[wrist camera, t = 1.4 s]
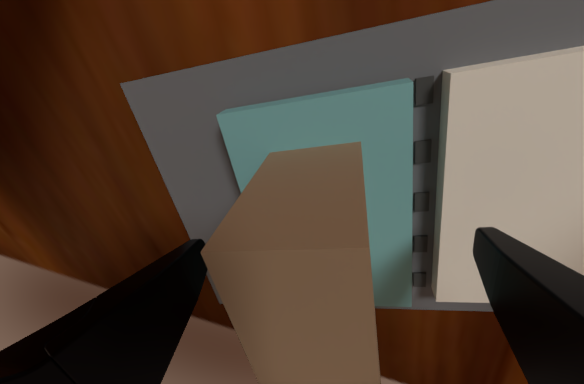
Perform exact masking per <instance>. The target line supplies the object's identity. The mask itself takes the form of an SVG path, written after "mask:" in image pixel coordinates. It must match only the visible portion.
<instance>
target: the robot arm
mask: <svg viewBox="0 0 584 384" xmlns="http://www.w3.org/2000/svg"><path fill="white" fill-rule="evenodd" d="M205 245H206V244H205V242H204V241H203V240H202V239H191V240H189V241H187V242H186V243H184V244H183V245H181V246H179V247H178V248H176V249H174V250H173V251H171V252H169V253H168V254H166V255H164V256H163V257H161V258H159V259H158V260H156V261H154V262H153V263H151V264H149V265H148V266H146V267H145V268H143V269H141V270H140V271H138V272H136V273H135V274H133V275H131V276H130V277H128V278H126V279H125V280H123V281H121V282H120V283H118V284H116V285H115V286H113V287H111V288H110V289H108V290H107V291H105V292H103V293H102V294H100V295H98V296H97V298H93V299H92V300H90V301H88V302H87V303H85V304H83V305H82V306H80V307H78V308H77V309H75V310H73V311H72V312H70V313H68V314H66V315H65V316H63V317H61V318H59V319H58V320H56V321H54V322H52V323H50V324H49V325H47V326H45V327H43V328H41V329H40V330H38V331H36V332H34V333H32V334H31V335H29V336H27V337H25V338H23V339H22V340H20V341H18V342H16V343H14V344H12V345H11V346H9V347H7V348H5V349H3V350H1V351H0V384H161V382H162V380H163V377H164V375H165V372H166V371H167V368H168V366H169V364H170V361H171V359H172V357H173V355H174V352H175V350H176V348H177V346H178V343H179V341H180V339H181V336H182V334H183V332H184V330H185V327H186V325H187V323H188V321H189V318H190V316H191V314H192V312H193V309H194V307H195V305H196V302H197V300H198V297H199V294H200V292H201V289H202V285H203V282H204V279H205V276H206V273H207V270H208V269H207V266H206V264H205V262H204V260H203V257H202V255H201V253H200V252H201V250H202V249H203V248H204V246H205ZM473 257H474V260H475V263H476V266H477V268H478V271H479V274H480V277H481V280H482V283H483V286H484V289H485V291H486V294H487V297H488V300H489V302H490V305H491V307H492V309H493V312H494V314H495V316H496V318H497V320H498V322H499V324H500V326H501V328H502V330H503V332H504V334H505V336H506V338H507V340H508V342H509V344H510V347H511V349H512V351H513V353H514V355H515V357H516V359H517V361H518V363H519V365H520V367H521V369H522V371H523V373H524V375H525V377H526V379H527V381H528V383H529V384H584V275H582V274H580V273H578V272H576V271H575V270H573V269H571V268H569V267H567V266H565V265H563V264H562V263H560V262H558V261H556V260H554V259H552V258H550V257H549V256H547V255H545V254H543V253H541V252H539V251H537V250H536V249H534V248H532V247H530V246H528V245H526V244H524V243H523V242H521V241H519V240H517V239H515V238H513V237H511V236H510V235H508V234H506V233H504V232H502V231H500V230H498V229H497V228H494V227H478V228H477V229H476V231H475V236H474V243H473Z"/></svg>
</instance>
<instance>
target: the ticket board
mask: <svg viewBox="0 0 584 384" xmlns="http://www.w3.org/2000/svg"><path fill="white" fill-rule="evenodd" d="M404 78H409V79H410V80H412V81H413V203H412V307H385V306H375V308H385V309H421V310H457V311H493V309H492V307H491V305H490V302H489V300H488V297H487V294H486V291H485V289H484V286H483V283H482V280H481V277H480V274H479V271H478V268H477V266H476V263H475V260H474V257H473V243H474V236H475V231H476V229H477V228H478V227H494V228H497V229H498V230H500V231H502V232H504V233H506V234H508V235H510V236H511V237H513V238H515V239H517V240H519V241H521V242H523V243H524V244H526V245H528V246H530V247H532V248H534V249H536V250H537V251H539V252H541V253H543V254H545V255H547V256H549V257H550V258H552V259H554V260H556V261H558V262H560V263H562V264H563V265H565V266H567V267H569V268H571V269H573V270H575V271H576V272H578V273H580V274H582V275H584V0H493V1H489V2H485V3H480V4H476V5H471V6H467V7H462V8H458V9H453V10H449V11H444V12H440V13H435V14H431V15H426V16H422V17H417V18H413V19H408V20H404V21H399V22H395V23H390V24H386V25H381V26H377V27H372V28H368V29H363V30H359V31H354V32H350V33H345V34H341V35H336V36H332V37H327V38H323V39H318V40H314V41H309V42H305V43H300V44H296V45H291V46H287V47H282V48H278V49H273V50H269V51H264V52H260V53H255V54H251V55H246V56H242V57H237V58H233V59H228V60H224V61H219V62H215V63H211V64H206V65H202V66H197V67H193V68H188V69H184V70H179V71H175V72H170V73H166V74H161V75H157V76H152V77H148V78H143V79H139V80H134V81H130V82H125V83H121V84H120V85H121V87H122V89H123V92H124V94H125V96H126V98H127V100H128V103H129V105H130V107H131V109H132V111H133V114H134V116H135V118H136V120H137V122H138V125H139V127H140V129H141V131H142V133H143V136H144V138H145V140H146V142H147V144H148V147H149V149H150V151H151V153H152V155H153V158H154V160H155V162H156V164H157V166H158V169H159V171H160V173H161V175H162V177H163V180H164V182H165V184H166V186H167V189H168V191H169V193H170V195H171V197H172V200H173V202H174V204H175V206H176V208H177V211H178V213H179V215H180V217H181V219H182V222H183V224H184V226H185V228H186V230H187V233H188V235H189V237H190V239H202V240H203V241H204V242H205V244H206V243H207V242H208V240H209V239H210V238H211V236H212V235H213V233H214V232H215V230H216V229H217V227H218V226H219V225H220V223H221V222H222V220H223V219H224V217H225V216H226V215H227V213H228V212H229V210H230V209H231V207H232V206H233V205H234V203H235V202H236V200H237V199H238V197H239V196H240V195H241V192H240V189H239V186H238V183H237V179H236V176H235V173H234V170H233V167H232V164H231V161H230V157H229V154H228V151H227V148H226V145H225V142H224V139H223V135H222V132H221V129H220V126H219V123H218V120H217V117H216V115H217V114H219V113H220V112H222V111H224V110H225V109H230V108H236V107H242V106H248V105H253V104H259V103H265V102H271V101H277V100H282V99H288V98H294V97H300V96H306V95H311V94H317V93H323V92H329V91H335V90H341V89H346V88H352V87H358V86H364V85H370V84H375V83H381V82H387V81H393V80H399V79H404ZM206 275H207V277H208V279H209V281H210V283H211V286H212V288H213V290H214V292H215V294H216V297H217V299H218V301H219V303H220V304H223V302H222V300H221V298H220V295H219V293H218V291H217V289H216V287H215V284H214V282H213V280H212V278H211V275H210V273H209V271H208V270H207V273H206Z"/></svg>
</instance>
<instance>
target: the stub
mask: <svg viewBox="0 0 584 384" xmlns="http://www.w3.org/2000/svg"><path fill="white" fill-rule="evenodd" d="M216 117H217V120H218V123H219V126H220V129H221V132H222V135H223V139H224V142H225V145H226V148H227V151H228V154H229V157H230V161H231V164H232V167H233V170H234V173H235V176H236V179H237V183H238V186H239V189H240V192H241V195H240V196H239V197H238V199H237V200H236V202H235V203H234V205H233V206H232V207H231V209H230V210H229V212H228V213H227V215H226V216H225V217H224V219H223V220H222V222H221V223H220V225H219V226H218V227H217V229H216V230H215V232H214V233H213V235H212V236H211V238H210V239H209V240H208V242H207V243H206V245H205V246H204V248H203V249H202V250H201V252H200V253H201V255H202V257H203V260H204V262H205V264H206V266H207V269H208V271H209V273H210V275H211V278H212V280H213V282H214V284H215V287H216V289H217V291H218V293H219V295H220V298H221V300H222V302H223V304H224V307H225V309H226V311H227V313H228V316H229V318H230V320H231V322H232V325H233V327H234V329H235V331H236V334H237V336H238V338H239V340H240V343H241V345H242V347H243V349H244V352H245V354H246V356H247V358H248V361H249V363H250V365H251V367H252V370H253V372H254V374H255V376H256V379H257V381H258V383H259V384H381V381H380V368H379V356H378V343H377V331H376V318H375V306H385V307H412V203H413V81H412V80H410V79H409V78H404V79H399V80H393V81H387V82H381V83H375V84H370V85H364V86H358V87H352V88H346V89H341V90H335V91H329V92H323V93H317V94H311V95H306V96H300V97H294V98H288V99H282V100H277V101H271V102H265V103H259V104H253V105H248V106H242V107H236V108H230V109H225V110H224V111H222V112H220V113H219V114H217V115H216Z"/></svg>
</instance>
